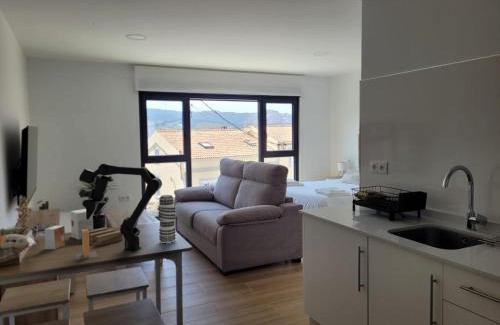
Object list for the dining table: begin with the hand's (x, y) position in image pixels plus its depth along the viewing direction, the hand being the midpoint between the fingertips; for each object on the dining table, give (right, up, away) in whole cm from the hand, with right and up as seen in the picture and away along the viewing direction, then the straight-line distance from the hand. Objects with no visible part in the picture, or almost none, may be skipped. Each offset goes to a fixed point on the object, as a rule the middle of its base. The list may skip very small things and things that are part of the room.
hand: (91, 217), depth 186 cm
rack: (-1, -15, +17) cm, 23 cm away
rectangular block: (+1, -17, -9) cm, 19 cm away
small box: (-21, -17, +6) cm, 28 cm away
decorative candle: (+35, -16, +15) cm, 41 cm away
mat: (+1, -17, -8) cm, 19 cm away
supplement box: (-16, -15, +26) cm, 34 cm away
